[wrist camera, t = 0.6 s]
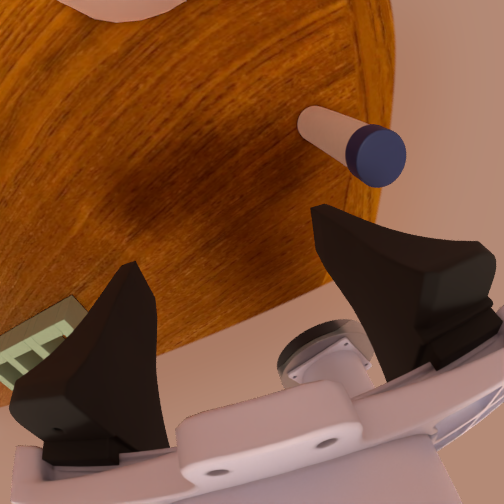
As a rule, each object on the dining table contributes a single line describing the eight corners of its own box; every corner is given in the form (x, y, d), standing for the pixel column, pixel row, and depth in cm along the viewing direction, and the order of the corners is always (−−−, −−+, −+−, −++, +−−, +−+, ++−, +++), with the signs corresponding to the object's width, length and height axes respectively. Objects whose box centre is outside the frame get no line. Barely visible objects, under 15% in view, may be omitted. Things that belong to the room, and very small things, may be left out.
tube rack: (72, 294, 23) (63, 319, 21) (113, 337, 27) (110, 362, 24) (-13, 343, 24) (-21, 363, 22) (23, 374, 27) (17, 395, 25)
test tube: (340, 128, 21) (414, 165, 14) (309, 151, 21) (372, 199, 14) (319, 95, 19) (392, 118, 12) (286, 119, 20) (345, 153, 13)
